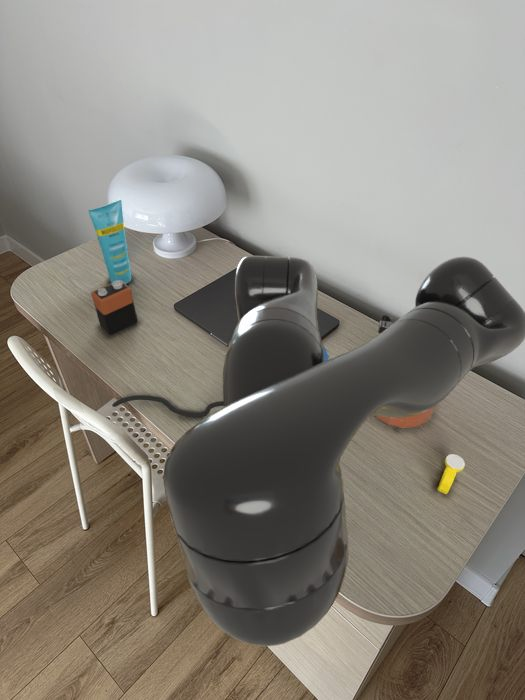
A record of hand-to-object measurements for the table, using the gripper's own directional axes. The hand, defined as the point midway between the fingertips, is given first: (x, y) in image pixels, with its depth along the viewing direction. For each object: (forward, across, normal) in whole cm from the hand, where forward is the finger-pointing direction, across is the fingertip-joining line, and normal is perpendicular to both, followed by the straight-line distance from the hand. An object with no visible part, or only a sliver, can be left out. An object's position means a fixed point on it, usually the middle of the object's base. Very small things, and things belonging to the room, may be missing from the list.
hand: (416, 336), depth 80 cm
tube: (+26, -65, +4) cm, 70 cm away
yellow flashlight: (-1, +8, -22) cm, 24 cm away
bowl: (+9, 0, -12) cm, 15 cm away
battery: (+15, -58, -6) cm, 61 cm away
